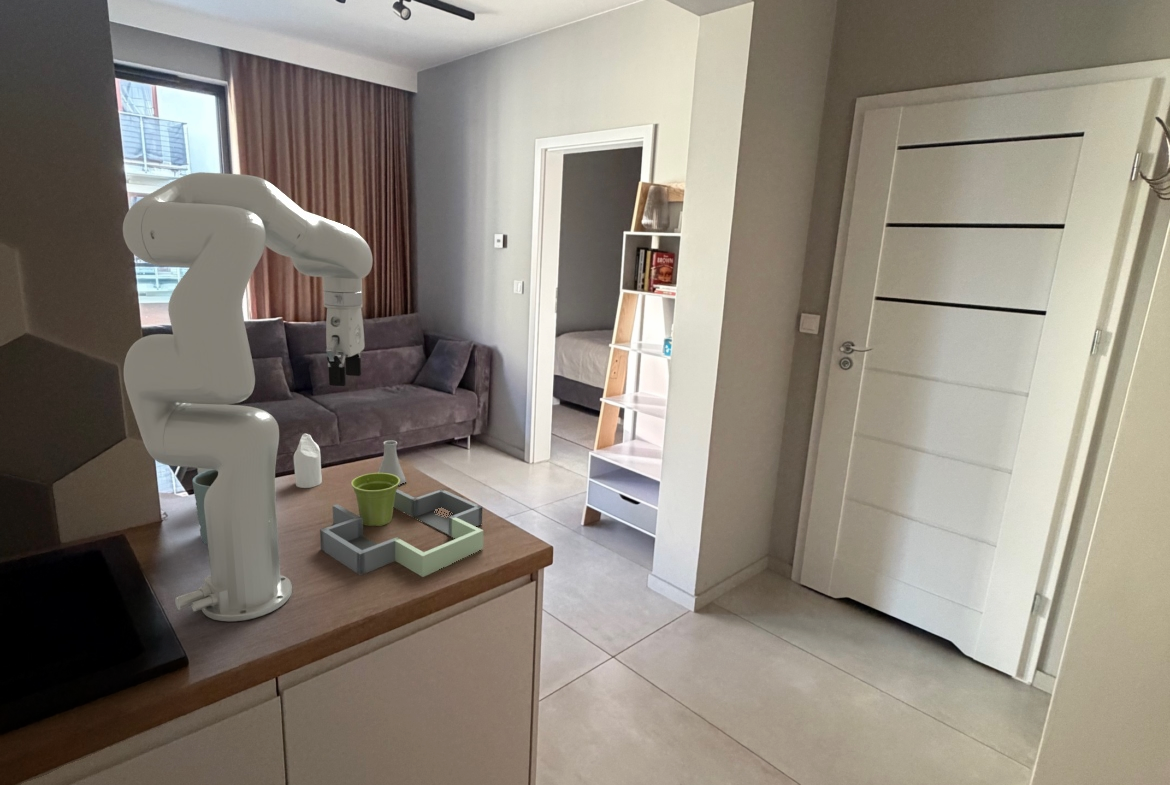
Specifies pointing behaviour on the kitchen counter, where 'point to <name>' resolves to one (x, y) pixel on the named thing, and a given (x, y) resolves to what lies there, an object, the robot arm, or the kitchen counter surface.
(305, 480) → the white broken column
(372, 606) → the kitchen counter surface
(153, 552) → the kitchen counter surface
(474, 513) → the grey low walled frame
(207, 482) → the sage green cup
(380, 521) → the plant pot
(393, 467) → the flask
